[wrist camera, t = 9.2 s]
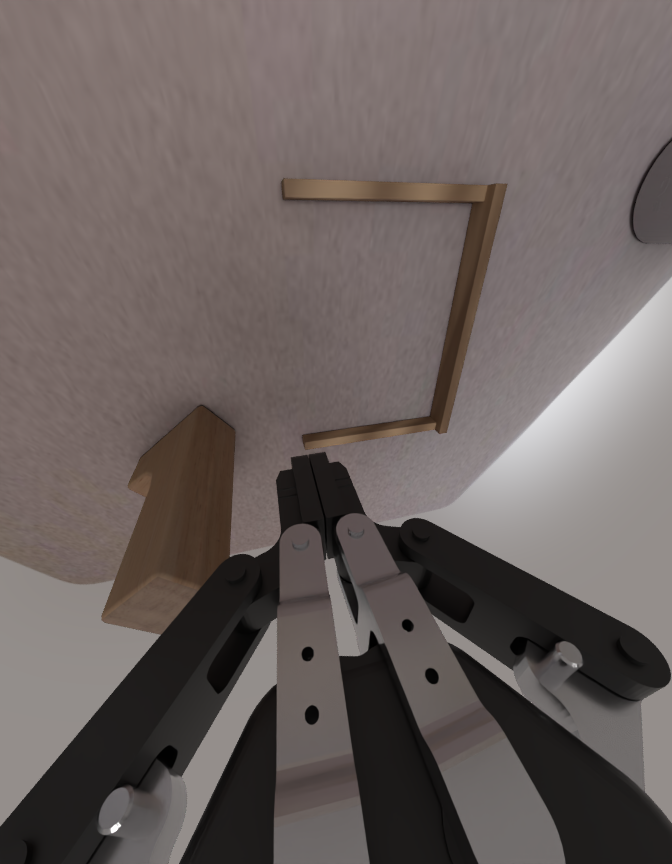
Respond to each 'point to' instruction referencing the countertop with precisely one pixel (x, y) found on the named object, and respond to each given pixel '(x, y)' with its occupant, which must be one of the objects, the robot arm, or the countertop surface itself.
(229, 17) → the countertop surface
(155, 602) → the wooden block
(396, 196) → the frame
